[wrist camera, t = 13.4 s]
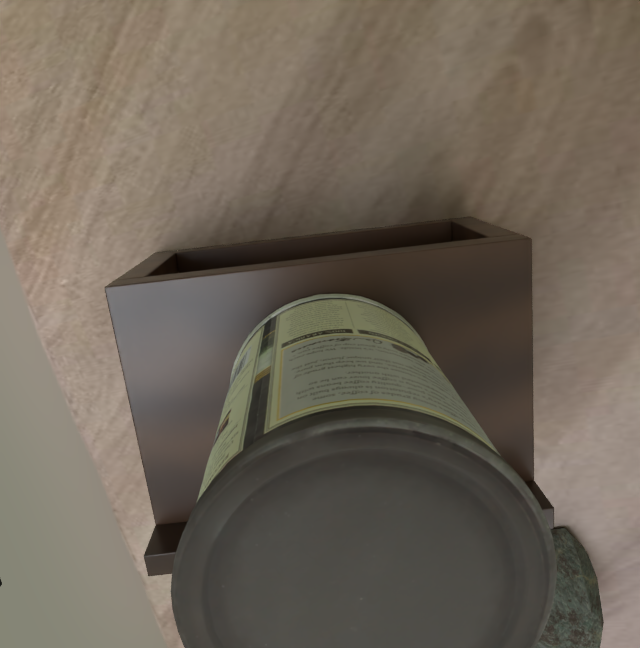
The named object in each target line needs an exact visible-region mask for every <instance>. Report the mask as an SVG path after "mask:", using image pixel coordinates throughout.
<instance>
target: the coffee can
mask: <svg viewBox="0 0 640 648" xmlns="http://www.w3.org/2000/svg"><path fill="white" fill-rule="evenodd" d="M556 578H557V563H556V554H555V548H554V542H553V537H552V533H551V530H550V527H549V524H548V522H547V519H546V517H545V515H544V513H543V510H542V508H541V506H540V504H539V502H538V501H537V499H536V498H535V496H534V495H533V493H532V492H531V490H530V489H529V487H528V486H527V484H526V483H525V482H524V480H523V479H522V478H521V477H520V476H519V474H518V473H517V472H516V471H515V470H514V469H513V468H512V467H511V466H510V465H509V464H508V463H507V462H506V461H505V460H504V459H503V458H502V457H501V456H500V454H499V453H498V451H497V450H496V449H495V447H494V446H493V444H492V443H491V441H490V440H489V438H488V437H487V435H486V434H485V432H484V431H483V430H482V428H481V427H480V425H479V424H478V422H477V421H476V419H475V418H474V417H473V415H472V414H471V412H470V411H469V409H468V408H467V406H466V405H465V404H464V402H463V401H462V399H461V398H460V396H459V395H458V394H457V392H456V391H455V389H454V387H453V386H452V384H451V383H450V382H449V381H448V379H447V378H446V376H445V375H444V373H443V372H442V371H441V369H440V368H439V366H438V365H437V363H436V362H435V361H434V359H433V358H432V356H431V355H430V353H429V352H428V350H427V347H426V346H425V344H424V342H423V340H422V339H421V337H420V336H419V335H418V333H417V332H416V331H415V329H414V328H413V327H412V326H411V325H410V324H409V323H408V322H407V321H406V320H405V319H404V318H403V317H402V316H401V315H399V314H398V313H396V312H395V311H393V310H392V309H390V308H388V307H386V306H384V305H383V304H381V303H378V302H376V301H373V300H370V299H367V298H364V297H361V296H355V295H348V294H318V295H313V296H311V297H307V298H302V299H299V300H296V301H294V302H291V303H289V304H287V305H284V306H283V307H281V308H279V309H277V310H276V311H274V312H273V313H271V314H270V315H269V316H268V317H266V318H265V319H264V320H263V321H261V322H260V323H259V324H258V325H257V326H256V327H255V328H254V330H253V331H252V332H251V333H250V334H249V335H248V337H247V339H246V340H245V342H244V343H243V345H242V347H241V349H240V351H239V353H238V355H237V357H236V360H235V362H234V366H233V369H232V373H231V379H230V386H229V390H228V393H227V396H226V400H225V403H224V407H223V411H222V415H221V418H220V422H219V426H218V429H217V433H216V436H215V440H214V443H213V447H212V450H211V453H210V457H209V460H208V463H207V466H206V470H205V474H204V478H203V482H202V485H201V489H200V492H199V496H198V499H197V503H196V505H195V507H194V509H193V510H192V512H191V514H190V517H189V519H188V522H187V524H186V526H185V529H184V531H183V534H182V536H181V539H180V542H179V545H178V548H177V551H176V555H175V559H174V564H173V572H172V582H171V597H172V607H173V613H174V617H175V621H176V625H177V629H178V632H179V635H180V637H181V640H182V642H183V645H184V647H185V648H535V646H536V645H537V643H538V642H539V639H540V637H541V635H542V633H543V631H544V629H545V626H546V624H547V621H548V619H549V616H550V612H551V609H552V605H553V601H554V595H555V588H556Z"/></svg>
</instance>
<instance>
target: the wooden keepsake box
mask: <svg viewBox="0 0 640 648" xmlns="http://www.w3.org/2000/svg"><path fill="white" fill-rule="evenodd" d="M105 292H106V297H107V301H108V306H109V311H110V315H111V320H112V325H113V329H114V334H115V338H116V343H117V348H118V352H119V357H120V362H121V366H122V371H123V375H124V380H125V385H126V389H127V394H128V398H129V403H130V408H131V412H132V417H133V422H134V426H135V431H136V435H137V440H138V445H139V449H140V454H141V459H142V463H143V468H144V472H145V477H146V482H147V486H148V491H149V496H150V500H151V505H152V509H153V514H154V519H155V523H156V526H155V528H154V531H153V534H152V536H151V539H150V541H149V544H148V547H147V549H146V552H145V554H144V559H145V563H146V568H147V572H148V576H155V575H163V574H172V572H173V564H174V559H175V555H176V551H177V548H178V545H179V542H180V539H181V536H182V534H183V531H184V529H185V526H186V524H187V522H188V519H189V517H190V514H191V512H192V510H193V509H194V507H195V505H196V503H197V499H198V496H199V492H200V489H201V485H202V482H203V478H204V474H205V470H206V466H207V463H208V460H209V457H210V453H211V450H212V447H213V443H214V440H215V436H216V433H217V429H218V426H219V422H220V418H221V415H222V411H223V407H224V403H225V400H226V396H227V393H228V390H229V386H230V379H231V373H232V369H233V366H234V362H235V360H236V357H237V355H238V353H239V351H240V349H241V347H242V345H243V343H244V342H245V340H246V339H247V337H248V335H249V334H250V333H251V332H252V331H253V330H254V328H255V327H256V326H257V325H258V324H259V323H260V322H261V321H263V320H264V319H265V318H266V317H268V316H269V315H270V314H271V313H273V312H274V311H276V310H277V309H279V308H281V307H283V306H284V305H287V304H289V303H291V302H294V301H296V300H299V299H302V298H307V297H311V296H313V295H318V294H348V295H355V296H361V297H364V298H367V299H370V300H373V301H376V302H378V303H381V304H383V305H384V306H386V307H388V308H390V309H392V310H393V311H395V312H396V313H398V314H399V315H401V316H402V317H403V318H404V319H405V320H406V321H407V322H408V323H409V324H410V325H411V326H412V327H413V328H414V329H415V331H416V332H417V333H418V335H419V336H420V337H421V339H422V340H423V342H424V344H425V346H426V347H427V350H428V352H429V353H430V355H431V356H432V358H433V359H434V361H435V362H436V363H437V365H438V366H439V368H440V369H441V371H442V372H443V373H444V375H445V376H446V378H447V379H448V381H449V382H450V383H451V384H452V386H453V387H454V389H455V391H456V392H457V394H458V395H459V396H460V398H461V399H462V401H463V402H464V404H465V405H466V406H467V408H468V409H469V411H470V412H471V414H472V415H473V417H474V418H475V419H476V421H477V422H478V424H479V425H480V427H481V428H482V430H483V431H484V432H485V434H486V435H487V437H488V438H489V440H490V441H491V443H492V444H493V446H494V447H495V449H496V450H497V451H498V453H499V454H500V456H501V457H502V458H503V459H504V460H505V461H506V462H507V463H508V464H509V465H510V466H511V467H512V468H513V469H514V470H515V471H516V472H517V473H518V474H519V476H520V477H521V478H522V479H523V480H524V482H525V483H526V484H527V486H528V487H529V489H530V490H531V492H532V493H533V495H534V496H535V498H536V499H537V501H538V502H539V504H540V506H541V508H542V510H543V513H544V515H545V517H546V519H547V522H548V524H549V527H550V529H553V528H554V507H553V506H552V505H551V503H550V502H549V501H548V499H547V498H546V496H545V495H544V494H543V492H542V491H541V490H540V488H539V487H538V485H537V484H536V483H535V481H534V436H533V326H532V239H531V238H530V237H527V236H524V235H521V234H518V233H515V232H512V231H510V230H507V229H504V228H501V227H498V226H496V225H493V224H490V223H487V222H484V221H481V220H479V219H476V218H473V217H463V218H454V219H448V220H447V219H445V220H436V221H427V222H419V223H410V224H401V225H393V226H384V227H375V228H366V229H358V230H349V231H340V232H332V233H323V234H314V235H305V236H297V237H288V238H279V239H271V240H262V241H253V242H244V243H236V244H227V245H218V246H210V247H201V248H192V249H183V250H178V251H177V250H175V251H166V252H158V253H154V254H153V255H151V256H150V257H148V258H147V259H145V260H144V261H143V262H141V263H140V264H138V265H137V266H135V267H134V268H132V269H131V270H129V271H128V272H126V273H125V274H124V275H122V276H121V277H119V278H118V279H116V280H115V281H113V282H111V283H110V284H109V285H107V286H106V287H105Z"/></svg>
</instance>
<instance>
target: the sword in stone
mask: <svg viewBox="0 0 640 648" xmlns="http://www.w3.org/2000/svg"><path fill="white" fill-rule="evenodd" d="M551 533H552V537H553V542H554V548H555V554H556V563H557V578H556V588H555V595H554V601H553V605H552V609H551V612H550V616H549V619H548V621H547V624H546V626H545V629H544V631H543V633H542V635H541V637H540V639H539V642H538V643H537V645H536V646H535V648H600V644H601V637H602V630H603V623H604V622H603V616H602V609H601V602H600V595H599V589H598V582H597V577H596V574H595V572H594V569H593V567H592V564H591V561H590V559H589V556H588V554H587V552H586V551H585V549H584V548H583V547H582V546H581V545H580V543H579V542H578V541H577V540H576V539H575V538H574V537H573V536H572V535H571V534H570V533H569V532H568V531H567V530H566V529H565V528H562V529H555V530H551Z"/></svg>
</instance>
